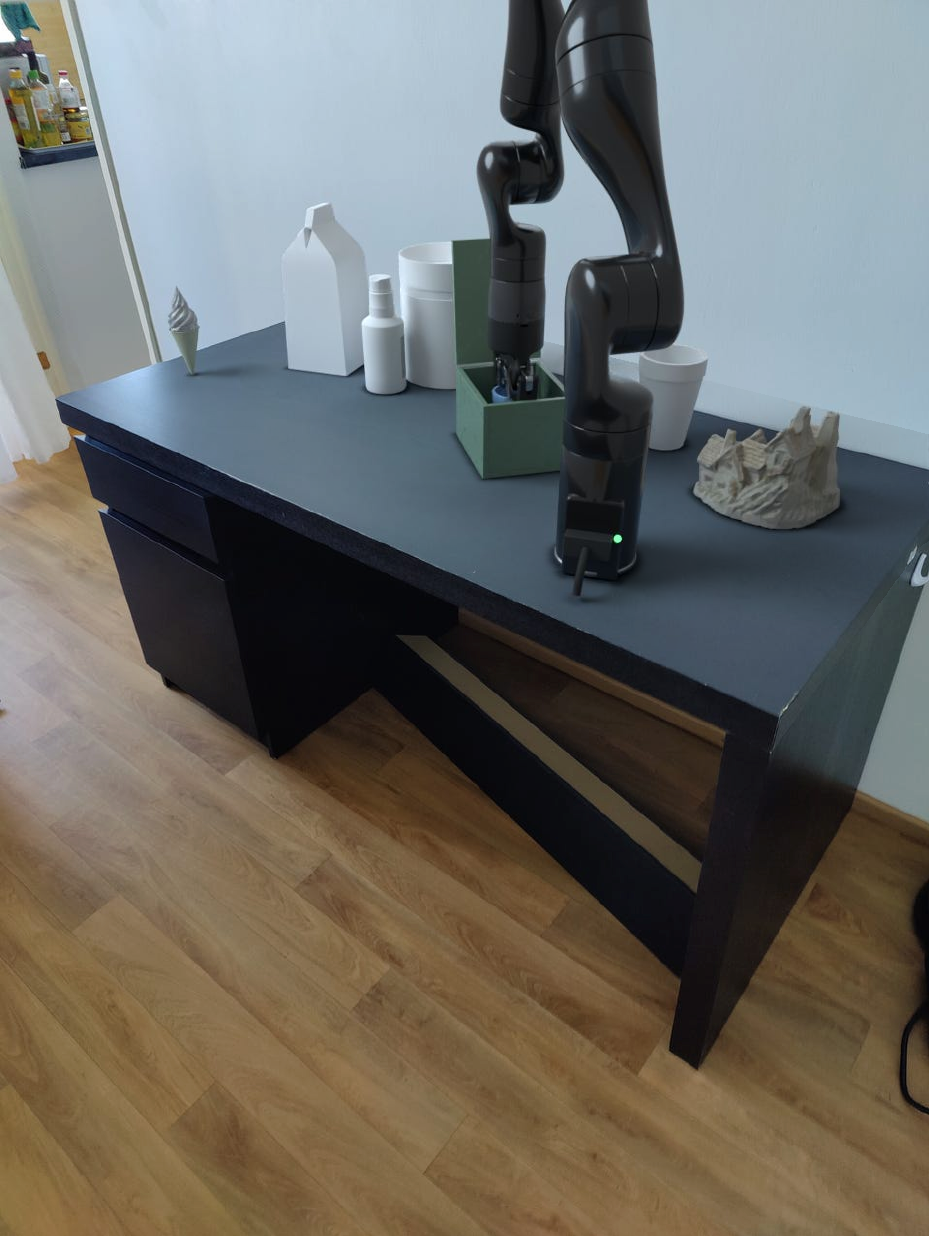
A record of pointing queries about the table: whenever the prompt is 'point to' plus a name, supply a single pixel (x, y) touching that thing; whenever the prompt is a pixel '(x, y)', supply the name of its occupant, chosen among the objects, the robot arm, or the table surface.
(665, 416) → the foam cup
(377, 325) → the spray bottle
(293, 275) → the milk
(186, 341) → the ice cream cone
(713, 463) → the ceramic cottage
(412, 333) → the canister
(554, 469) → the green box
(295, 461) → the table surface
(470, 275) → the lid
